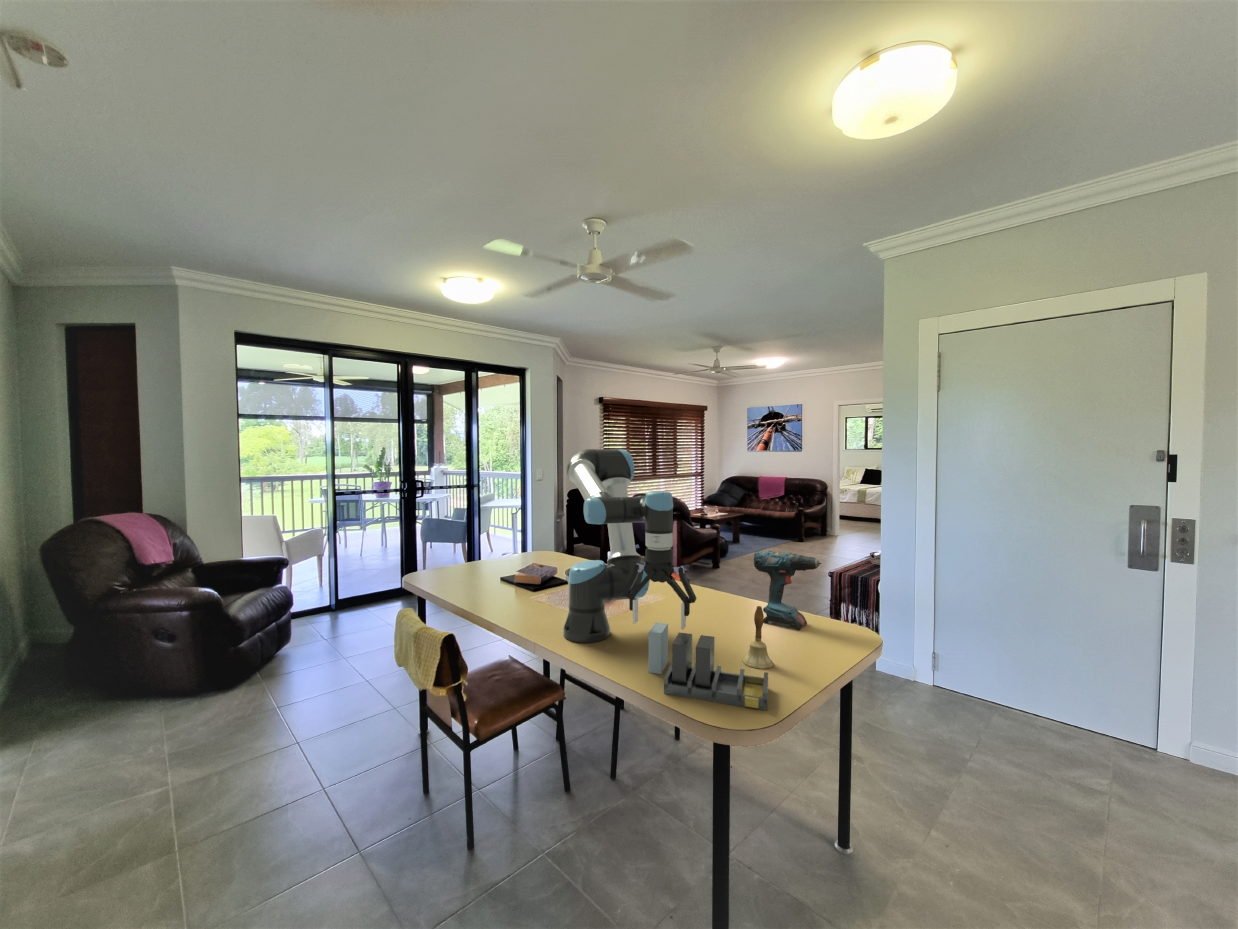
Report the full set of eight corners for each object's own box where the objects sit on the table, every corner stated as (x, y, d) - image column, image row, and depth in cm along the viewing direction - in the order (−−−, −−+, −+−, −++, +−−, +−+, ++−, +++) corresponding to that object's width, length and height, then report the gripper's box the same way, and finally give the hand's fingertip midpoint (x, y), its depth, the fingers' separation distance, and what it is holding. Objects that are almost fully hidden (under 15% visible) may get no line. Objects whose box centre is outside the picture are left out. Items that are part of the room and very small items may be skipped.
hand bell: (750, 654, 142) (750, 600, 141) (777, 662, 136) (778, 606, 136) (737, 663, 135) (738, 607, 135) (766, 672, 130) (766, 613, 130)
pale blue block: (648, 672, 130) (648, 631, 129) (655, 660, 137) (655, 622, 137) (661, 674, 128) (661, 633, 128) (667, 662, 136) (667, 623, 136)
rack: (663, 694, 117) (663, 646, 117) (673, 674, 128) (673, 629, 128) (766, 712, 110) (767, 659, 109) (768, 688, 121) (768, 641, 120)
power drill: (817, 635, 157) (818, 559, 156) (749, 620, 171) (750, 550, 170) (824, 627, 164) (825, 554, 163) (759, 613, 178) (759, 546, 177)
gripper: (611, 547, 133) (611, 624, 133) (702, 552, 125) (702, 634, 125) (620, 543, 140) (620, 616, 140) (706, 547, 132) (706, 625, 132)
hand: (659, 624), depth 132 cm, fingers open, 13 cm apart
